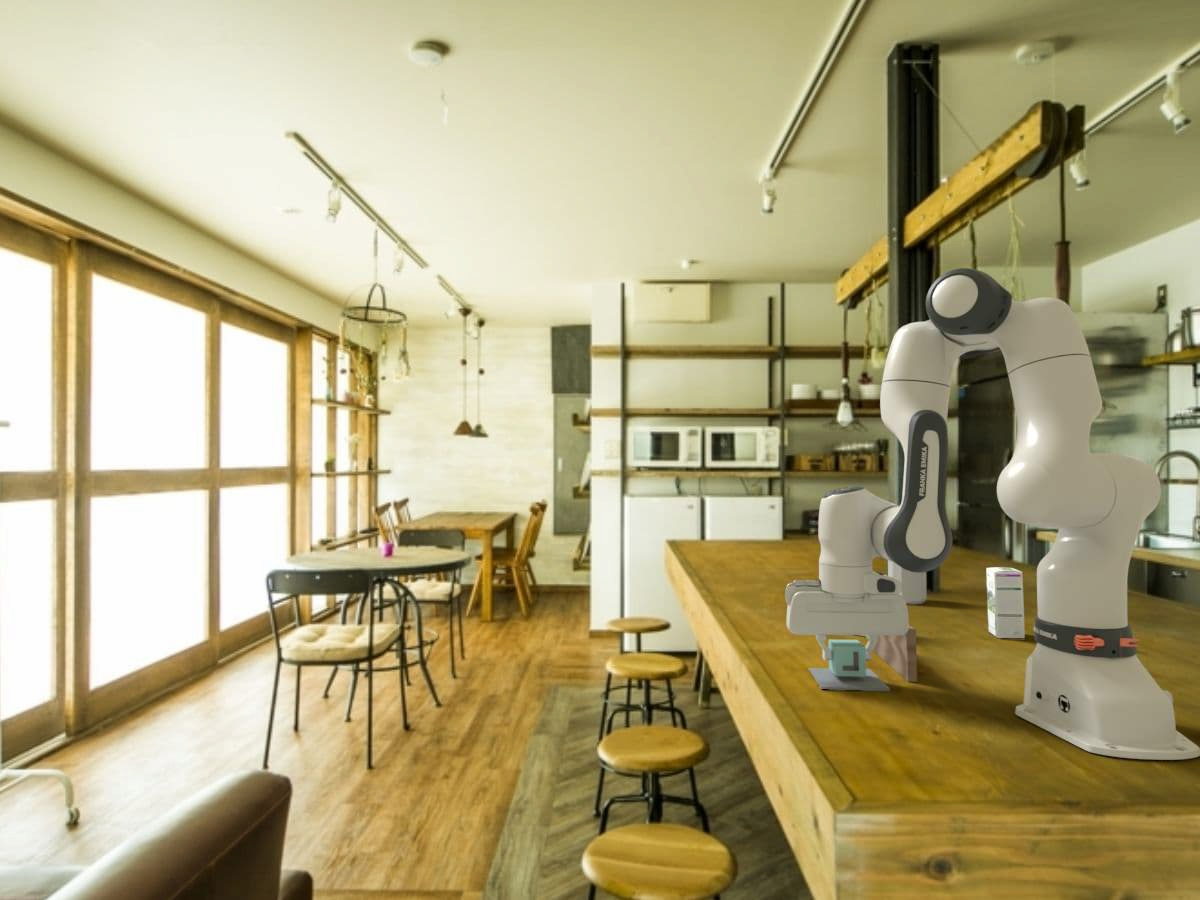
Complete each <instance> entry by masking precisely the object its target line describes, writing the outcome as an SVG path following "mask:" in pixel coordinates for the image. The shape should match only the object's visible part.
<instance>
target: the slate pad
mask: <svg viewBox="0 0 1200 900" xmlns="http://www.w3.org/2000/svg"><path fill="white" fill-rule="evenodd" d="M807 669H809V671H810V672H811V674H812V675H813V677H814V678H815V680H816V681H817V683H818V684H819V686H820V687H819V686H818V687H819V689H820V690H821V689H830V690H829V691H845V690H861V691H860V692H890V689H891V688H890V687H889V686H888V685H887V684H886V683H885V682H884V681H883V680H882V679H881V678H880V677H879V676H878V675H877V674H876V673H875V672H874V671H873V670H872V669H871V668H866V677H860V676H835V675H834V673H833V672H832V671H831V670H830V668H829V667H826V668H825V667H824V668H823V667H808V668H807ZM809 671H808V672H809ZM811 674H810V675H811ZM813 677H812V678H813ZM814 678H813V679H814ZM815 680H814V681H815ZM816 681H815V682H816ZM817 683H816V684H817ZM818 684H817V685H818ZM833 689H834V690H833ZM862 690H863V691H862Z"/></svg>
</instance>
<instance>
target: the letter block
mask: <svg viewBox="0 0 1200 900" xmlns="http://www.w3.org/2000/svg"><path fill="white" fill-rule="evenodd" d="M865 647H866V645H864V644H862V642H860V641H859V639H833V638H832V639H830V638H829V639H828V648H831V649H832V650H833V660H828V668H830V670H831V671H832V672H833V673H834V675H835V676H860V677H866V669H867V668H866V667H867V664H866V662H867V661H866V656H865Z"/></svg>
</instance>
